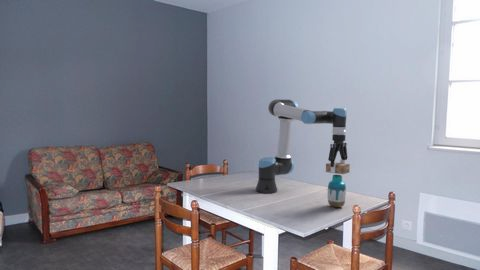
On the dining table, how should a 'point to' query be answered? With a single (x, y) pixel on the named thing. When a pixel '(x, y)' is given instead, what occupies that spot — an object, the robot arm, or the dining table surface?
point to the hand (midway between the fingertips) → (337, 171)
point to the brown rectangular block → (338, 168)
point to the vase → (336, 191)
